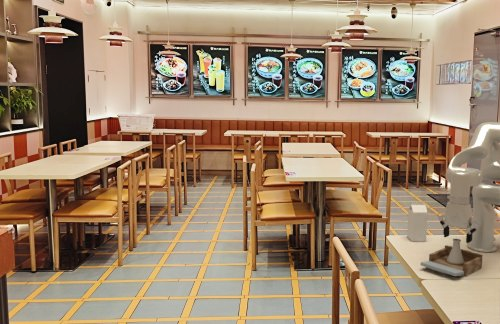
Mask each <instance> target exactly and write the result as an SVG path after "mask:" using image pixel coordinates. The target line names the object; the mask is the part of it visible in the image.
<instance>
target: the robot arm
mask: <svg viewBox="0 0 500 324" xmlns="http://www.w3.org/2000/svg"><path fill="white" fill-rule="evenodd" d="M480 160H481V162H480V169H479V168H473V167H467V166H466V167H465V166H463V165H465V164H467V163H471V162H475V161H480ZM445 179H446V181H447V182H448V183H450V186H449V189H450V190H449V195H447V196H446V199H448V201H447V203H446V206H445V212H444V214H442V215H438V220H439V223H440V225H441V226H442V228H443V232H442V233H443V238H447V237H449V236H450V227H451V228H452V227H453V228H457V229H461V230H465V231H466V232H467V233H466V235H465V243H466V246H467V248H469V249H470V250H472V251H477V252H481V253H493V252H496V251H497V246H496V245H494V242H495V241H496V238H495V225H496V210H495V208H494V206H493V205H495V206H500V183H493V182H500V121H499V122H498V121H486V122H482V123H480V124H479V125H477V127H476V128H475V130H474V133H473V135H472V138H471V139H470V143H469V145H468V147H466V148H464V149H462V150H461V151H459V152H458V153H456V154H455V155H454V156H453V157H452V158H451V160H450V161H449V164H448V166H447V169H446V172H445ZM483 180H486V181H492V183H491V182H483ZM471 187H472V190H471ZM471 192H472V202H473V204H472V205H471V203H470V197H471V196H470V195H471ZM472 208H473V209H472ZM449 226H450V227H449Z"/></svg>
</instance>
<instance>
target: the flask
mask: <svg viewBox="0 0 500 324" xmlns="http://www.w3.org/2000/svg"><path fill="white" fill-rule="evenodd" d="M461 241H462V240H461V239H460V238H452V246H451V247H452V250H451V252H450V254H449V256H448V258H447V260H446V261H447V262H448V263H450V264H456V265H463V264H464V259H463V256H462V253H461V249H462V248H461Z"/></svg>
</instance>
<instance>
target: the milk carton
mask: <svg viewBox="0 0 500 324" xmlns="http://www.w3.org/2000/svg"><path fill="white" fill-rule="evenodd" d="M407 212H408V214H407V215H408V216H407V230H406V231H407V232H406V233H407V234H406V236H407V239H408V240H410V241H411V242H427V231H428V230H427V228H428V209H427V205H426V202H411V203H410V206H409V208H408V211H407Z"/></svg>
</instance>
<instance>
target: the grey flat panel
mask: <svg viewBox="0 0 500 324" xmlns="http://www.w3.org/2000/svg"><path fill="white" fill-rule="evenodd" d="M420 266H421V267H425V268H426V269H430V270H432V271H435V272H438V273H441V274H444V275H450V276H454V277H457V276H458V277H460V276H462V275H463V274H464V271H462V270H458V269H455V268H452V267H448V266H445V265H442V264H438V263H435V262H431V261H429V260H427V261H421V262H420Z"/></svg>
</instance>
